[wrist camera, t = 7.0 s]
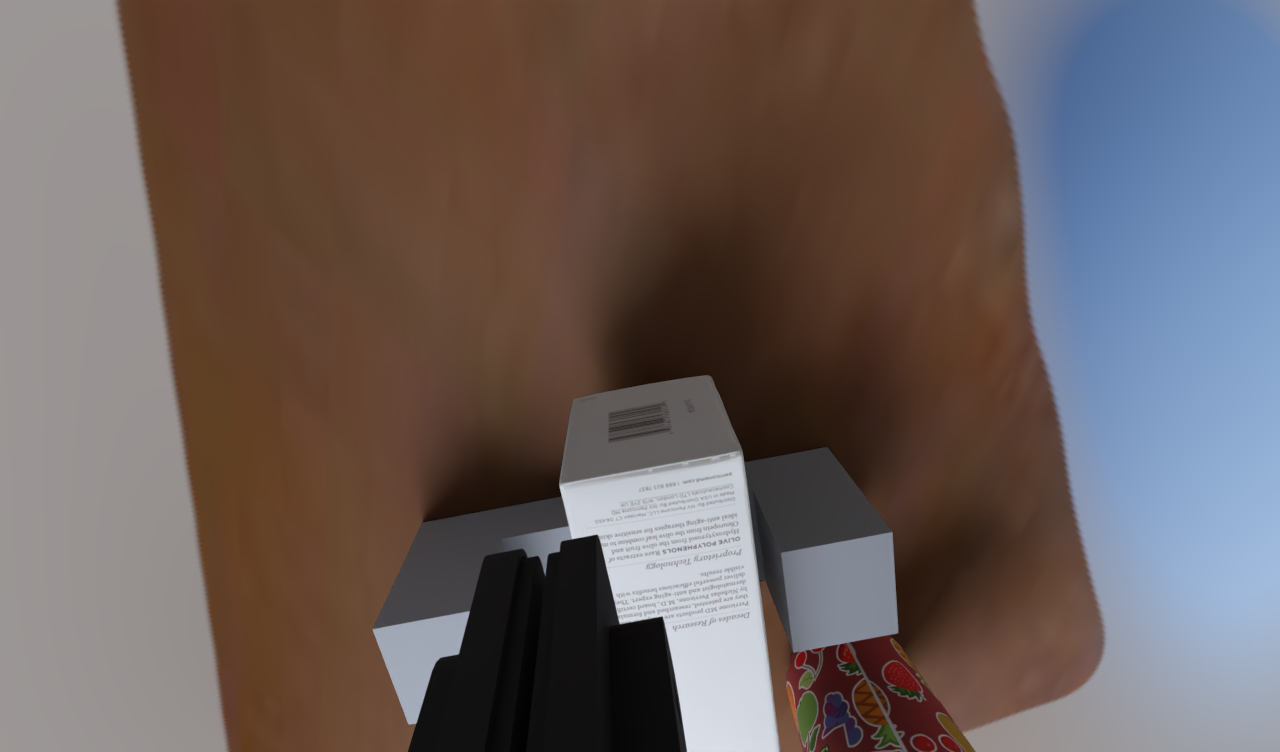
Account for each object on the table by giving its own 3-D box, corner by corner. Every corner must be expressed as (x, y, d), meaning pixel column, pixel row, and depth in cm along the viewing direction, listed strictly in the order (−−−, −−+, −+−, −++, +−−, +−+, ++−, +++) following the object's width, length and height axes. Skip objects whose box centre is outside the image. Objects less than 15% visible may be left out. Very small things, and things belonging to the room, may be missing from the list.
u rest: (422, 522, 34) (372, 629, 27) (827, 447, 34) (892, 532, 27) (448, 602, 36) (408, 724, 28) (834, 530, 36) (898, 633, 28)
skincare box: (709, 368, 29) (753, 648, 35) (560, 396, 29) (627, 670, 35) (747, 455, 21) (796, 800, 27) (543, 493, 21) (633, 829, 27)
